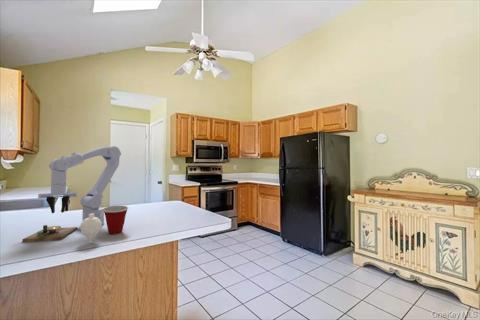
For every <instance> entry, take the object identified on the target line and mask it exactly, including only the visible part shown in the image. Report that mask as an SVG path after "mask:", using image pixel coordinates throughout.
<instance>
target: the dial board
mask: <svg viewBox="0 0 480 320" xmlns="http://www.w3.org/2000/svg"><path fill="white" fill-rule="evenodd" d="M78 228H79V226H73V227H70V226H69V227H61V228H60V229H58V230H52V231H48V232H47V233H43V229H41V230H39V231H37V232H35V233H33V234H31V235H28V236H26V237H24V238H22V239H21V240H22V242H21V243H33V242H50V241H62V240H63V239H65V238H67V237H68V236H69V235H71V234H73V233H74V232H76V231H77V230H78Z"/></svg>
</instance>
